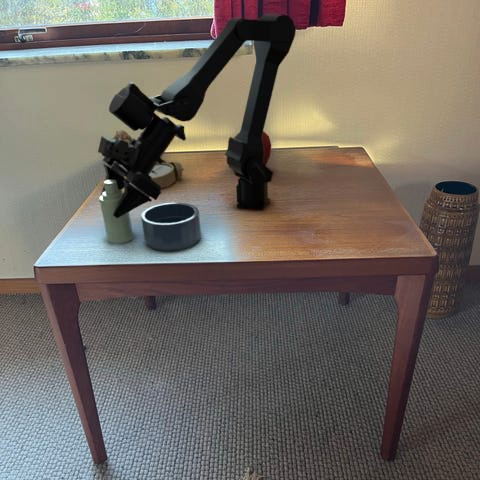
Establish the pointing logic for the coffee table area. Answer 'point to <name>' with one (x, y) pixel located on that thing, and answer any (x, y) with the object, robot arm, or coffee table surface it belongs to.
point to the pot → (171, 226)
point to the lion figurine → (122, 136)
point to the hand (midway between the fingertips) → (107, 209)
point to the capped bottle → (115, 227)
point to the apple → (265, 147)
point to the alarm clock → (166, 173)
